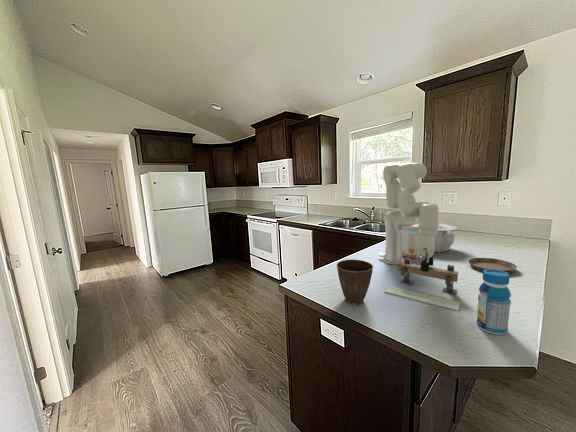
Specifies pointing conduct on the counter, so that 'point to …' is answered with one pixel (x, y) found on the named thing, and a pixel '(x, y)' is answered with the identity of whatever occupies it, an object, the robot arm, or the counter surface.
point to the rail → (431, 273)
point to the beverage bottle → (494, 302)
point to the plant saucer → (492, 264)
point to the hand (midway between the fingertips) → (427, 268)
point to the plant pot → (354, 279)
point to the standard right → (449, 282)
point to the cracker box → (410, 241)
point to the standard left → (406, 275)
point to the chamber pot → (444, 237)
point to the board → (424, 298)
